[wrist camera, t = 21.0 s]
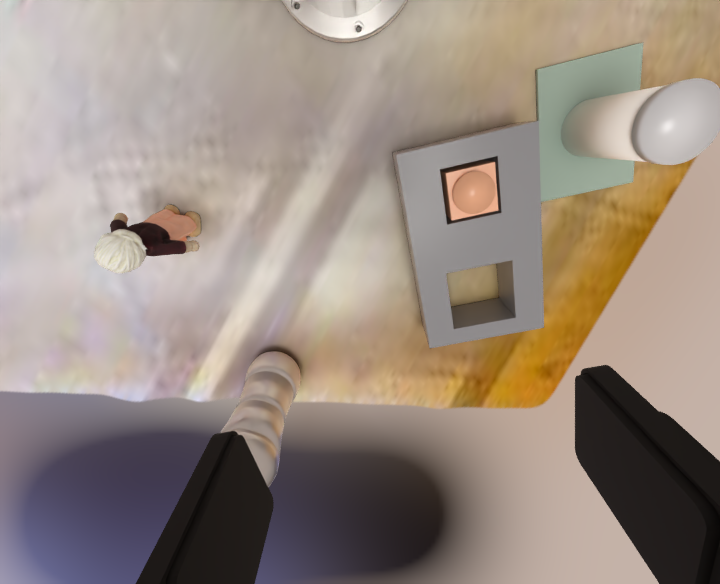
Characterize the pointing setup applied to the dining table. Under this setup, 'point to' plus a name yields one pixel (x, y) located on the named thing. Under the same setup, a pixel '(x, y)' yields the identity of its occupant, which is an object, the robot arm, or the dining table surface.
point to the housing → (476, 234)
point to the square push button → (469, 189)
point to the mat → (559, 96)
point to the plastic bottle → (266, 408)
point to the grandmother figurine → (147, 239)
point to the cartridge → (646, 123)
